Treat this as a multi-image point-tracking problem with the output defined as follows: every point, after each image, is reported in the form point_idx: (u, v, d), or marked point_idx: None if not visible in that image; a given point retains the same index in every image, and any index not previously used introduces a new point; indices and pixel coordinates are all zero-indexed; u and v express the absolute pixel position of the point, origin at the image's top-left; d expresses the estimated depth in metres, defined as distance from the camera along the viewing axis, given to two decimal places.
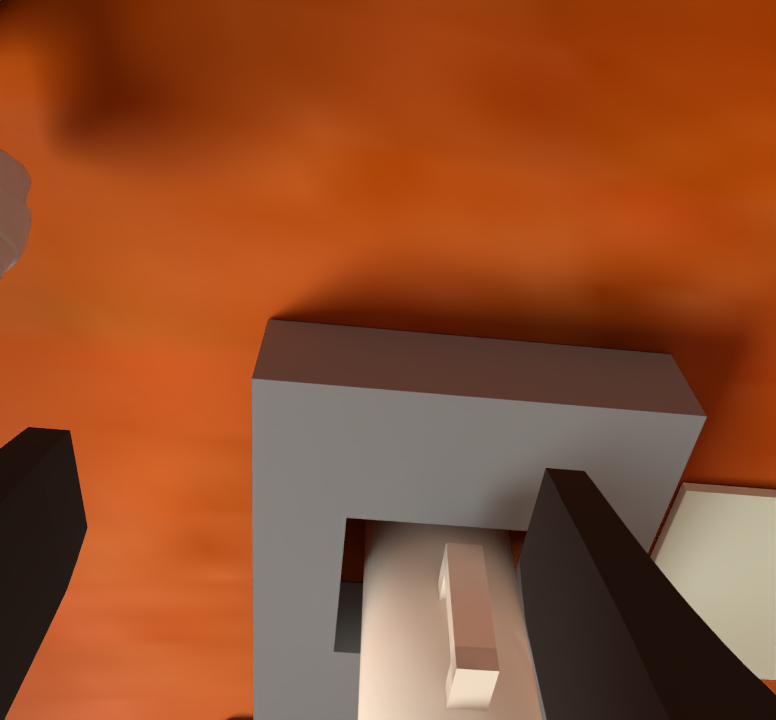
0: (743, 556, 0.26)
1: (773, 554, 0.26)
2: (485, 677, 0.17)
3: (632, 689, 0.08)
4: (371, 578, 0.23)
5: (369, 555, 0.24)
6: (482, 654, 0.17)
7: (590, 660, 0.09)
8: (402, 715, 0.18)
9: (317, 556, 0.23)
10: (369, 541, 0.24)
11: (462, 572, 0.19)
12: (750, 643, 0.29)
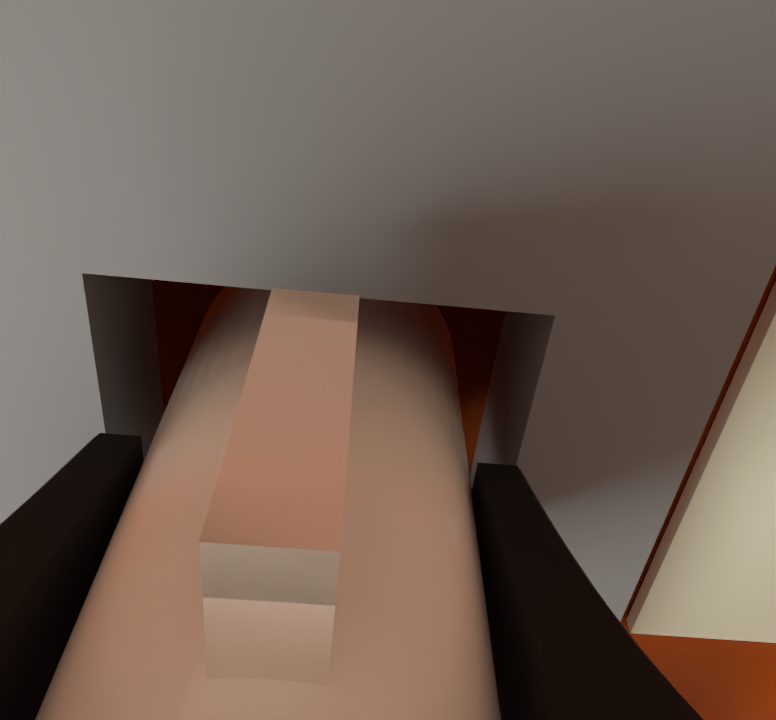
0: None
1: None
2: (299, 575, 0.05)
3: (536, 683, 0.08)
4: None
5: None
6: (297, 506, 0.06)
7: (506, 654, 0.09)
8: (91, 699, 0.06)
9: (45, 376, 0.11)
10: None
11: (294, 336, 0.08)
12: None
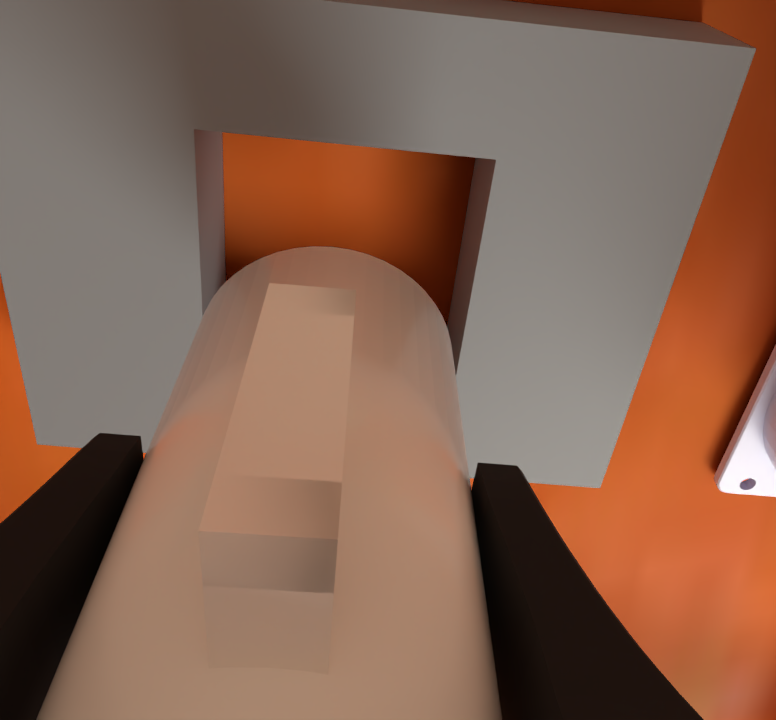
0: None
1: None
2: (297, 564, 0.05)
3: (535, 683, 0.08)
4: None
5: None
6: (295, 496, 0.06)
7: (506, 654, 0.09)
8: (95, 688, 0.06)
9: None
10: None
11: (291, 330, 0.08)
12: None
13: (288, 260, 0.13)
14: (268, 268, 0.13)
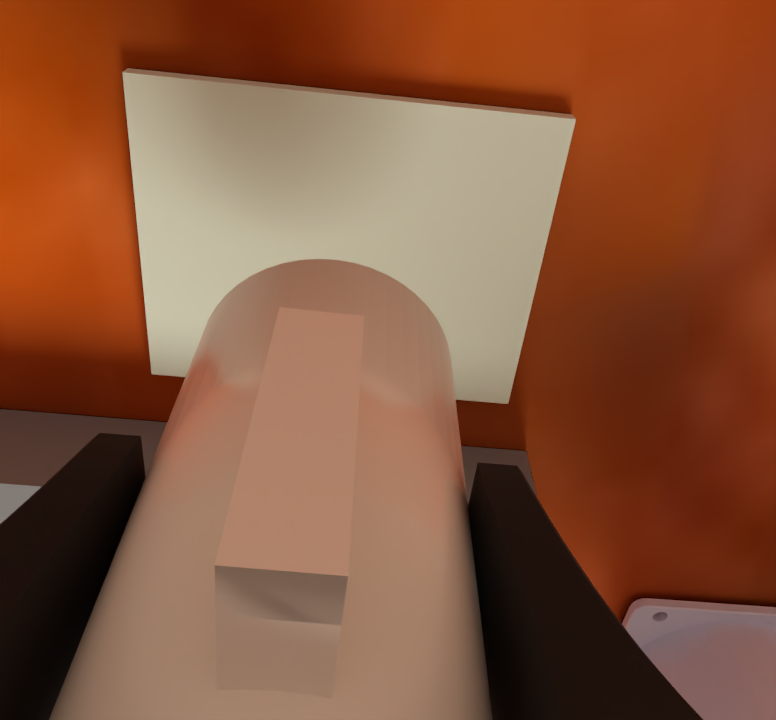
0: None
1: (248, 249, 0.18)
2: (309, 597, 0.06)
3: (535, 683, 0.08)
4: None
5: None
6: (307, 530, 0.06)
7: (506, 654, 0.09)
8: (106, 707, 0.07)
9: None
10: None
11: (302, 357, 0.08)
12: (456, 227, 0.18)
13: (293, 273, 0.13)
14: (274, 280, 0.13)
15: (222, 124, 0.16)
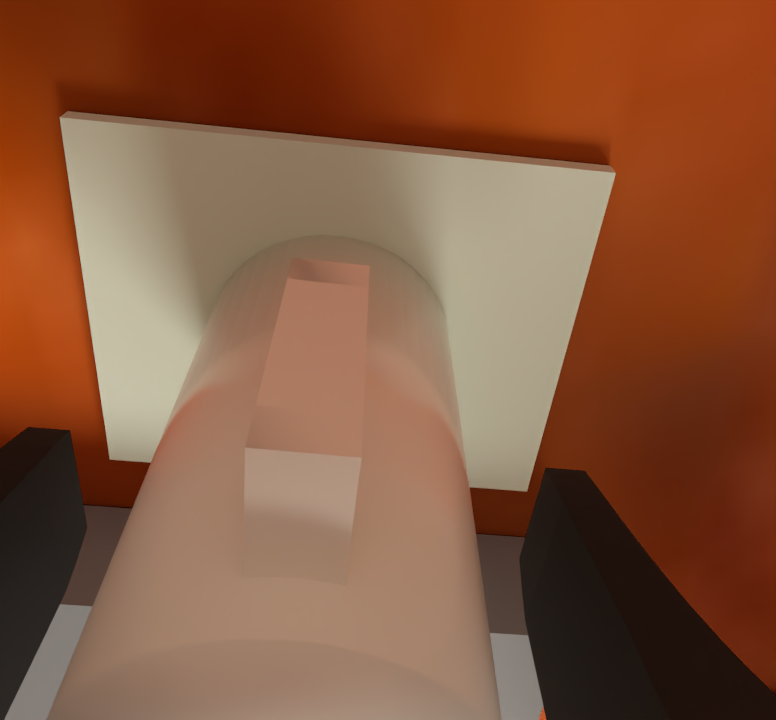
0: None
1: None
2: (326, 480, 0.06)
3: (632, 689, 0.08)
4: None
5: None
6: (324, 424, 0.07)
7: (590, 660, 0.09)
8: (141, 597, 0.07)
9: None
10: None
11: (314, 296, 0.09)
12: (469, 297, 0.15)
13: (300, 247, 0.14)
14: (281, 253, 0.14)
15: (184, 178, 0.14)
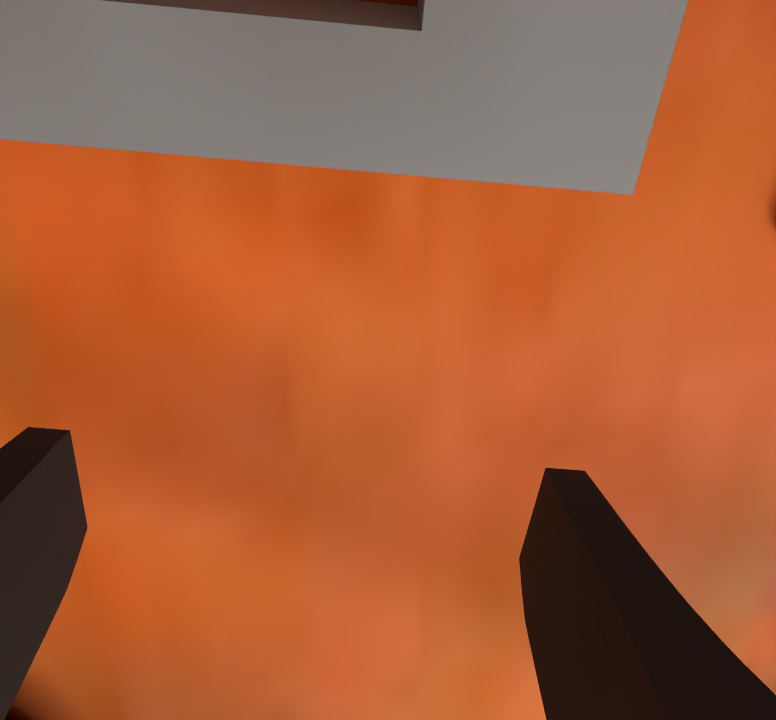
0: None
1: None
2: None
3: (632, 689, 0.08)
4: None
5: None
6: None
7: (589, 660, 0.09)
8: None
9: (168, 50, 0.14)
10: None
11: None
12: None
13: None
14: None
15: None
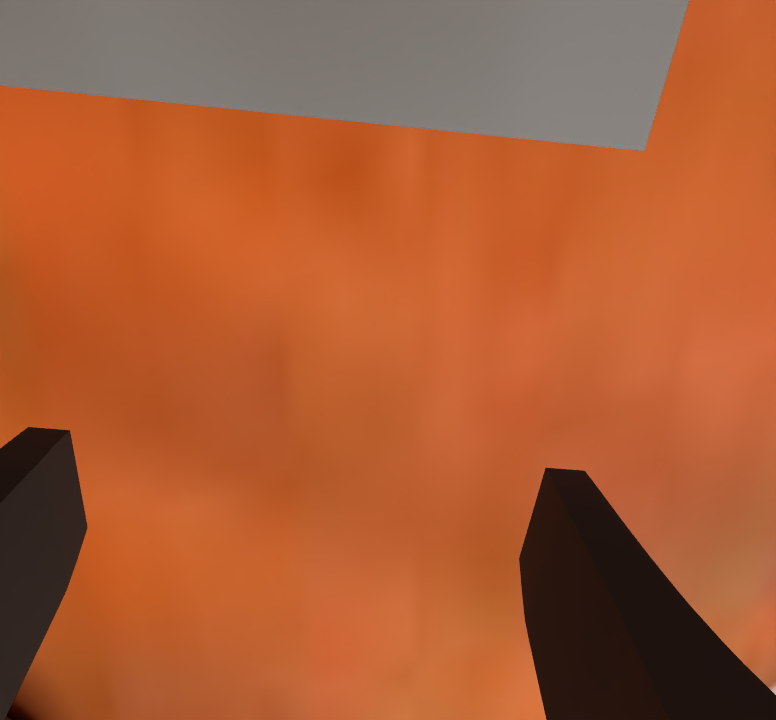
0: None
1: None
2: None
3: (632, 689, 0.08)
4: None
5: None
6: None
7: (589, 659, 0.09)
8: None
9: None
10: None
11: None
12: None
13: None
14: None
15: None
